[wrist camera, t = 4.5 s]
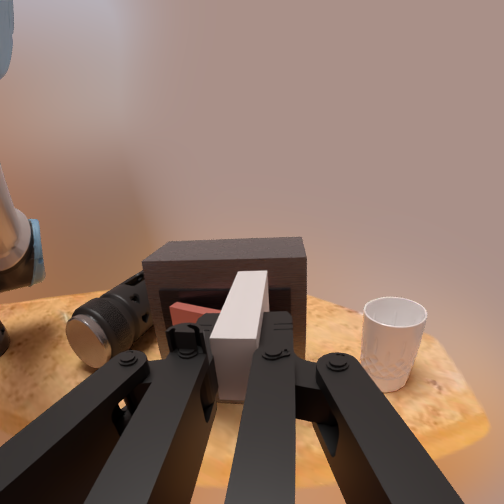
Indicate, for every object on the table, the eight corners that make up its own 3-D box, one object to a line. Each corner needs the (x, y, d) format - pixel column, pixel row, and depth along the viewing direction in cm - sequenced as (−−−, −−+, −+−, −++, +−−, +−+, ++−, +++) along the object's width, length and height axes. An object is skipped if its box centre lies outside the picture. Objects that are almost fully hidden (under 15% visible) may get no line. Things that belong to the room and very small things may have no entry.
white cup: (362, 400, 31) (375, 330, 29) (349, 363, 39) (356, 299, 36) (419, 390, 31) (438, 322, 28) (400, 356, 38) (411, 294, 36)
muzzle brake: (197, 302, 62) (191, 254, 59) (119, 384, 36) (99, 319, 33) (159, 299, 65) (152, 253, 62) (75, 368, 39) (54, 309, 36)
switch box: (171, 399, 34) (140, 262, 29) (188, 362, 42) (169, 241, 37) (302, 405, 32) (306, 258, 27) (300, 364, 40) (301, 236, 35)
